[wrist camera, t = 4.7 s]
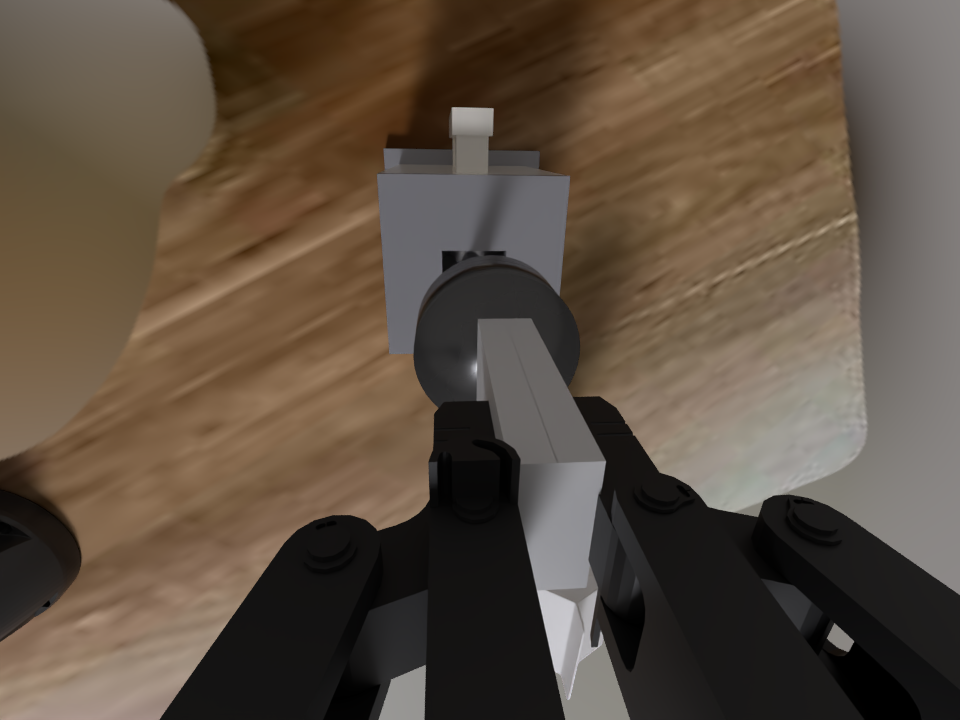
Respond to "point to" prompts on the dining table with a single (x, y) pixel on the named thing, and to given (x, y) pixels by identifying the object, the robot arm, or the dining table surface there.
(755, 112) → the dining table surface
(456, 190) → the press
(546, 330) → the dark gray domed cylinder
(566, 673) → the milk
